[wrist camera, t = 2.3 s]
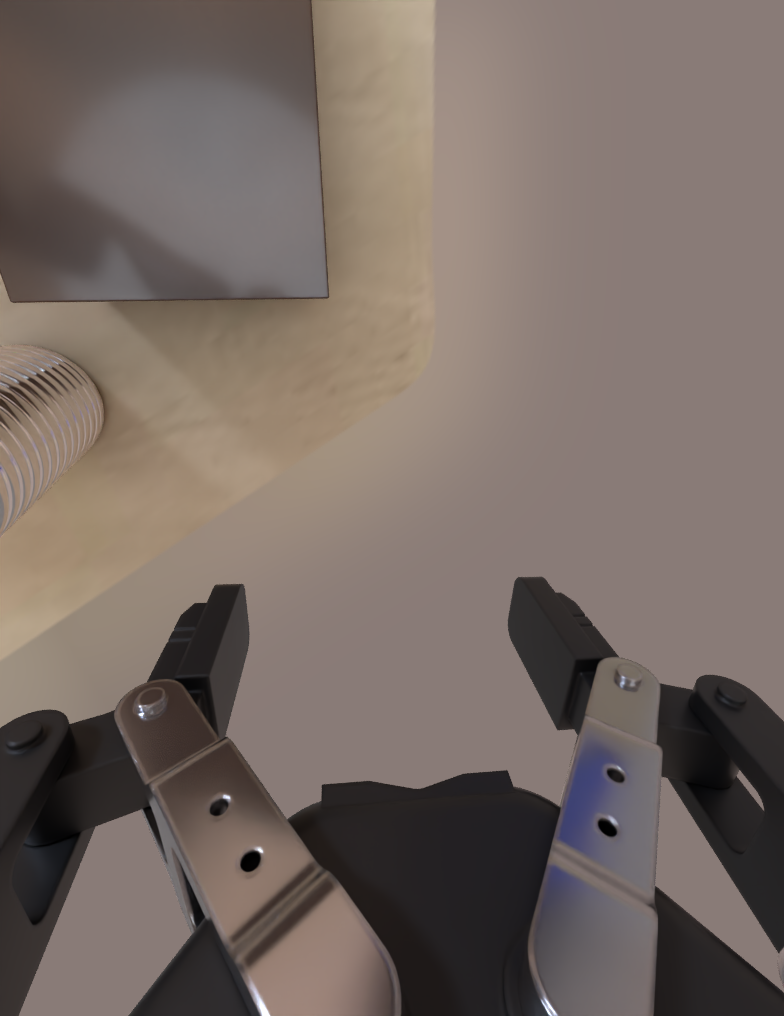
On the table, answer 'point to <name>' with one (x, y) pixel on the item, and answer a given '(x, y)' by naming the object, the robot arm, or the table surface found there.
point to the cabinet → (160, 151)
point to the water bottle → (41, 424)
